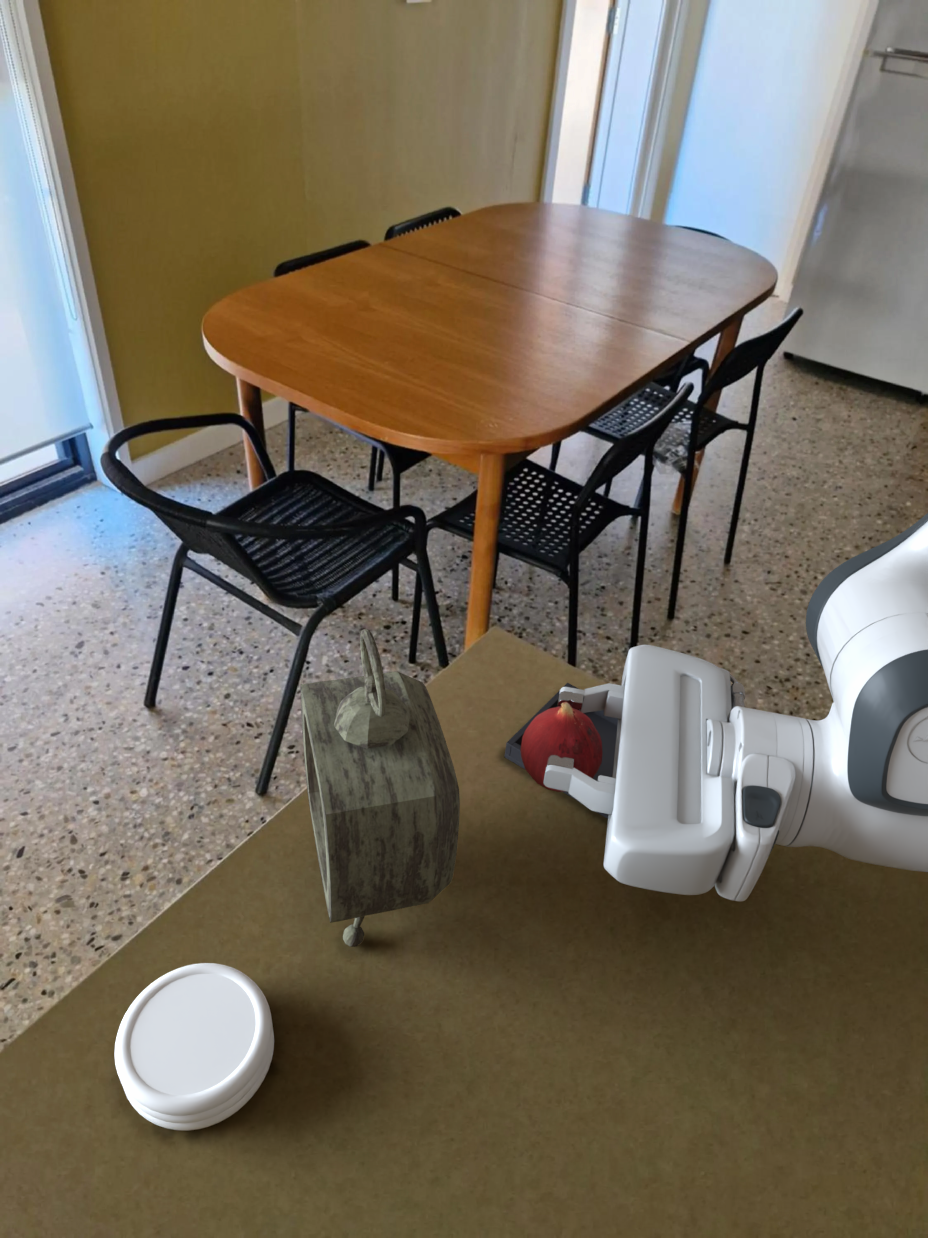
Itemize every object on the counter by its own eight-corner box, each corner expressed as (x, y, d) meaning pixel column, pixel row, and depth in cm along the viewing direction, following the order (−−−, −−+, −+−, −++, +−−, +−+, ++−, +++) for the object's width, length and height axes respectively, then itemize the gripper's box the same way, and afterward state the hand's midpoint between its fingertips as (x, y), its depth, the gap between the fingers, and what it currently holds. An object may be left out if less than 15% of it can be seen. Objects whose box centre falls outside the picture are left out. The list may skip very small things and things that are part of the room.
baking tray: (720, 781, 83) (725, 766, 82) (667, 855, 76) (672, 841, 75) (564, 696, 90) (567, 682, 89) (504, 757, 83) (506, 742, 82)
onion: (606, 775, 67) (624, 698, 62) (574, 827, 63) (591, 750, 58) (537, 744, 69) (549, 667, 64) (502, 792, 65) (513, 714, 60)
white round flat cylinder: (304, 1039, 62) (302, 1014, 60) (195, 1168, 55) (188, 1146, 53) (203, 960, 66) (197, 933, 64) (90, 1071, 59) (79, 1046, 57)
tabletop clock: (308, 816, 77) (292, 586, 61) (410, 799, 79) (421, 572, 63) (334, 970, 66) (324, 738, 50) (451, 945, 68) (477, 716, 52)
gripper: (754, 644, 67) (574, 611, 69) (771, 864, 52) (537, 816, 53) (733, 703, 71) (563, 671, 73) (743, 925, 56) (525, 878, 57)
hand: (551, 734), depth 63 cm, fingers closed on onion, 5 cm apart
